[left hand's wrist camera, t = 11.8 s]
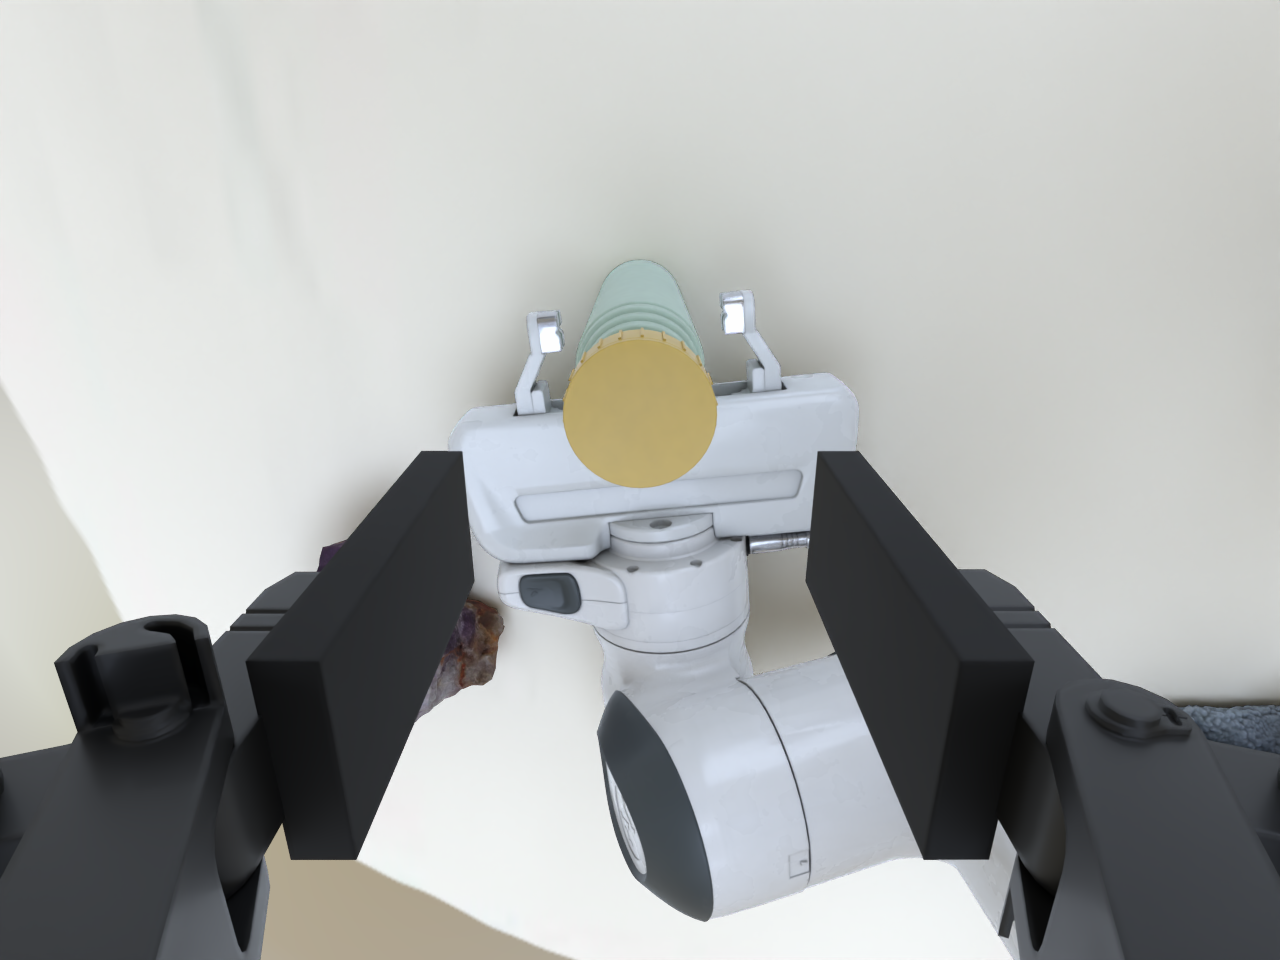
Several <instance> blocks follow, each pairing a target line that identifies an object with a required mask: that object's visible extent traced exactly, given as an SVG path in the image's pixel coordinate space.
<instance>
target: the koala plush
mask: <svg viewBox="0 0 1280 960" xmlns="http://www.w3.org/2000/svg"><path fill="white" fill-rule="evenodd" d="M1179 708H1180V709H1181V710H1183V711H1184V712H1186V713H1187V714H1189V716H1190V717H1191V718H1192V719H1193V720H1194V722H1195V723H1196V724H1197V725H1198V726H1199V727H1200V729H1201V730H1202V731H1203V733H1204V735H1205V737H1206V739H1207V740H1211V741H1215V742H1220V743H1225V744H1230V745H1235V746H1240V747H1245V748H1250V749H1255V750H1260V751H1265V752H1270V753H1275V754H1280V705H1279V706H1275V705H1267V706H1264V705H1262V706H1249V705H1246V706H1244V707H1241V706H1235V707H1232V708H1229V709H1228V708H1221V707H1219V708H1215V707H1210V706H1204V707H1199V706H1198V705H1195V706H1190V705H1188V706H1186V707H1179Z"/></svg>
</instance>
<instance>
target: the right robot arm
mask: <svg viewBox="0 0 1280 960" xmlns="http://www.w3.org/2000/svg"><path fill="white" fill-rule="evenodd" d="M720 306H721V308H722V309H723V311H722V313H721V328H722V330H724V333H725V334H737V333H742V335H743V336H744V338H745V339H746V341H747V342H748V344H749V345H750V347H751V348H752V350H753V351H754V353H755V354H756V356H757V357H758V361H757V360H756V359H749V360H748V361H747V362H746V366H747V380H744V381H734V382H724V383H714V384H713V385H711V386H712V389H713V392H714V394H715V397H716V400H717V403H718V406H717V423H716V424H717V425H716V428H715V433H714V436H713V439H712V441H711V444H710V446H709V448H708V450H707V451H706V453H705V454H704V456H703V457H702V459H701V460H700V461H699V462H698V463H697V464H696V465H695V466H694V467H693V468H692V469H691V470H690V471H688V472H687V473H686V474H684V475H683V476H681V477H680V478H678V479H676V480H674V481H672V482H669V483H666V484H663V485H660V486H655V487H649V488H631V487H625V486H620V485H617V484H613V483H611V482H609V481H606V480H604V479H602V478H601V477H599V476H597V475H595V474H594V473H593V472H592V471H590V470H589V469H588V468H587V467H586V466H585V465H584V464H583V463H582V462H581V461H580V460H579V458H578V457H577V456H576V455H575V453H574V451H573V450H572V448H571V446H570V444H569V441H568V439H567V436H566V433H565V429H564V423H563V405H564V402H563V399H553V400H551V399H550V393H549V387H548V382H547V381H546V380H540V381H538V382H537V383H536V379H537V376H538V374H539V371H540V369H541V366H542V364H543V361H544V359H545V356H546V354H547V353H551V352H559V351H562V349H563V347H564V345H565V341H564V333H563V330H562V329H561V328H560V327H559V326H560V325H561V323H562V319H561V314H560V310H551V311H538V312H531V313H529V314H528V315H527V329H528V336H529V342H530V349H531V353H530V354H529V356H528V359H527V361H526V364H525V366H524V369H523V371H522V374H521V377H520V379H519V382H518V384H517V387H516V389H515V392H514V394H515V400H516V403H513V404H503V405H494V406H483V407H475V408H472V409H470V410H469V411H467V412H466V414H465V415H464V416H463V417H462V418H461V419H460V420H459V422H458V423H457V424H456V426H455V428H454V429H453V431H452V433H451V435H450V437H449V441H448V451H463V462H464V473H465V484H466V495H467V506H468V516H469V524H470V527H471V529H472V532H473V534H474V536H475V538H476V539H477V541H478V543H479V544H480V545H481V546H482V548H483V549H484V550H485V551H486V552H487V553H488V554H490V555H491V556H493V557H494V558H496V559H499V560H500V565H499V569H498V578H497V587H498V593H499V596H500V599H501V601H502V602H503V603H504V604H505V605H507V606H509V607H512V608H515V609H520V610H525V611H531V612H536V613H542V614H547V615H552V616H557V617H562V618H566V619H571V620H575V621H579V622H583V623H587V624H590V625H593V628H594V631H595V634H596V636H597V638H598V640H599V642H600V644H601V646H602V648H603V652H604V664H603V669H602V679H601V684H602V692H603V699H604V705H605V710H604V713H603V716H602V719H601V721H600V724H599V727H598V730H597V735H598V740H599V746H600V753H601V759H602V766H603V773H604V780H605V787H606V794H607V800H608V805H609V810H610V815H611V819H612V823H613V827H614V830H615V834H616V837H617V840H618V843H619V846H620V849H621V851H622V854H623V856H624V858H625V861H626V863H627V865H628V867H629V869H630V871H631V873H632V874H633V876H634V877H635V878H636V879H637V880H638V881H639V882H640V883H641V884H642V885H644V886H645V887H646V888H647V889H649V890H650V891H651V892H652V893H653V894H655V895H656V896H657V897H659V898H660V899H661V900H663V901H664V902H665V903H667V904H668V905H670V906H671V907H673V908H675V909H676V910H678V911H680V912H682V913H683V914H685V915H688V916H690V917H692V918H694V919H697V920H700V921H704V922H706V921H708V920H709V919H713V918H718V917H723V916H727V915H731V914H734V913H737V912H740V911H743V910H746V909H750V908H753V907H756V906H760V905H763V904H766V903H769V902H772V901H775V900H778V899H781V898H784V897H787V896H791V895H794V894H797V893H800V892H802V891H803V890H804V889H806V888H809V887H812V886H815V885H819V884H822V883H825V882H828V881H831V880H834V879H837V878H840V877H843V876H846V875H849V874H852V873H855V872H858V871H861V870H864V869H867V868H870V867H873V866H876V865H879V864H882V863H885V862H888V861H892V860H897V859H903V858H923V857H922V855H921V852H920V850H919V848H918V845H917V843H916V841H915V838H914V836H913V834H912V831H911V829H910V826H909V824H908V822H907V819H906V817H905V815H904V812H903V810H902V808H901V805H900V803H899V800H898V798H897V796H896V793H895V791H894V789H893V786H892V784H891V782H890V779H889V777H888V775H887V772H886V770H885V767H884V765H883V763H882V760H881V758H880V756H879V753H878V751H877V749H876V746H875V744H874V741H873V739H872V737H871V734H870V732H869V730H868V727H867V725H866V723H865V720H864V718H863V716H862V713H861V711H860V708H859V706H858V704H857V701H856V699H855V697H854V694H853V692H852V690H851V687H850V685H849V683H848V680H847V678H846V675H845V673H844V671H843V668H842V666H841V664H840V661H839V659H838V657H837V654H836V652H834V653H832V654H830V655H828V656H827V657H824V658H820V659H816V660H812V661H808V662H804V663H801V664H797V665H793V666H789V667H785V668H781V669H778V670H774V671H770V672H766V673H762V674H758V675H755V676H754V674H753V667H752V662H751V659H750V656H749V654H748V651H747V649H746V646H745V639H744V638H745V632H746V628H747V625H748V621H749V614H750V603H749V584H748V568H747V556H748V554H755V553H765V552H775V551H782V550H786V549H791V548H797V547H798V548H799V547H806V548H809V538H810V527H811V516H812V506H813V495H814V484H815V473H816V462H817V451H856V444H857V435H858V422H859V405H858V401H857V399H856V397H855V395H854V394H853V392H852V391H851V390H850V389H849V388H848V387H847V386H846V385H845V384H844V383H843V382H842V381H840V380H839V379H838V378H837V377H835V376H834V375H832V374H831V373H814V374H804V375H794V376H784V377H781V365H780V364H779V362H778V361H777V359H776V358H775V356H774V355H773V353H772V352H771V350H770V349H769V347H768V346H767V344H766V343H765V341H764V339H763V338H762V336H761V335H760V333H759V332H758V331H757V329H756V326H755V305H754V296H753V292H752V291H751V290H741V291H732V292H724V293H720ZM746 535H747V536H746ZM1016 853H1017V852H1016V850H1015V848H1014V846H1013V845H1012V843H1011V841H1010V839H1009V838H1008V836H1007V834H1006V832H1005V831H1004V829H1003V827H1002V825H1001V824H1000V822H999V820H998V823H997V828H996V832H995V836H994V841H993V845H992V849H991V854H990V858H989V860H939V861H942V862H945V863H948V864H950V865H952V866H954V867H955V868H956V869H957V870H958V872H959V873H960V875H961V876H962V878H963V879H964V881H965V883H966V884H967V886H968V887H969V889H970V891H971V892H972V894H973V895H974V897H975V899H976V900H977V902H978V903H979V905H980V907H981V908H982V910H983V911H984V913H985V915H986V916H987V918H988V919H989V921H990V923H991V924H992V926H993V927H994V929H995V931H996V932H997V934H998V931H999V924H1000V918H1001V914H1002V910H1003V906H1004V902H1005V898H1006V894H1007V890H1008V886H1009V882H1010V878H1011V874H1012V870H1013V866H1014V862H1015V857H1016ZM999 937H1000V939H1001V940H1002V942H1003V943H1004V945H1005V947H1006V948H1007V950H1008V951H1009V953H1010V955H1011V956H1012V958H1013V959H1014V960H1020V956H1019V949H1018V941H1017V934H1016V927H1015V921H1013V924H1012V928H1011V931H1010V935H1009V939H1008V938H1005V937H1001V936H999Z"/></svg>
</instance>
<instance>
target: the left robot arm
mask: <svg viewBox="0 0 1280 960" xmlns="http://www.w3.org/2000/svg"><path fill="white" fill-rule="evenodd" d="M473 583H474V571H473V560H472V549H471V538H470V527H469V516H468V506H467V495H466V484H465V473H464V462H463V451H421V452H420V453H419V455H418V456H417V457H416V458H415V459H414V461H413V462H412V463H411V464H410V465H409V467H408V468H407V469H406V470H405V471H404V472H403V474H402V475H401V476H400V477H399V478H398V480H397V481H396V482H395V483H394V484H393V486H392V487H391V488H390V489H389V490H388V492H387V493H386V494H385V495H384V496H383V498H382V499H381V500H380V501H379V502H378V503H377V505H376V506H375V507H374V508H373V509H372V511H371V512H370V513H369V514H368V515H367V517H366V518H365V519H364V520H363V521H362V523H361V524H360V525H359V526H358V527H357V529H356V530H355V531H354V532H353V533H352V534H351V536H350V537H349V538H348V539H347V540H346V542H345V543H344V544H343V545H342V546H341V548H340V549H339V550H338V551H337V552H336V554H335V555H334V556H333V557H332V558H331V560H330V561H329V562H328V563H327V564H326V565H325V567H324V568H323V569H322V570H321V571H320V572H294V573H293V574H291V575H289V576H288V577H286V578H284V579H282V580H281V581H279V582H277V583H275V584H274V585H272V586H270V587H268V588H267V589H265V590H264V591H263V592H262V593H261V594H260V595H259V597H258V598H257V599H256V600H255V601H254V602H253V603H252V604H251V605H250V606H249V607H248V608H247V609H246V614H242V615H241V616H240V617H239V618H238V619H237V620H236V621H235V622H234V623H233V624H232V625H231V626H230V631H226V632H225V633H224V634H223V635H222V636H221V637H220V638H219V639H218V640H217V641H216V642H215V643H214V644H213V645H212V643H211V639H210V635H209V631H208V627H207V625H206V624H204V623H203V622H201V621H200V620H199V619H197V618H195V617H189V616H183V615H177V614H173V615H159V616H148V617H144V618H140V619H135V620H131V621H127V622H122V623H119V624H117V625H114V626H112V627H109V628H106V629H104V630H101V631H99V632H96V633H93V634H92V635H90V636H88V637H86V638H85V639H83V640H81V641H80V642H78V643H76V644H75V645H73V646H71V647H69V648H68V649H67V650H66V651H65V652H64V653H63V654H62V655H61V656H60V657H59V658H58V659H57V660H56V661H55V662H54V664H55V667H56V670H57V673H58V676H59V679H60V682H61V685H62V688H63V691H64V694H65V697H66V700H67V702H68V705H69V708H70V711H71V714H72V717H73V720H74V723H75V726H76V729H77V734H76V736H75V738H74V740H73V742H72V743H71V744H67V745H63V746H58V747H53V748H48V749H43V750H38V751H33V752H28V753H23V754H18V755H13V756H8V757H3V758H0V960H260V959H261V951H262V943H263V936H264V929H265V921H266V914H267V906H268V899H269V891H270V883H269V876H268V870H267V866H266V862H265V857H264V854H265V852H266V850H267V849H268V847H269V845H270V843H271V842H272V840H273V838H274V836H275V835H276V833H277V831H278V829H279V828H280V826H281V824H282V823H283V828H284V832H285V836H286V841H287V845H288V849H289V854H290V858H291V860H356V859H357V857H358V855H359V852H360V850H361V848H362V845H363V843H364V841H365V838H366V836H367V834H368V831H369V829H370V826H371V824H372V822H373V819H374V817H375V815H376V812H377V810H378V808H379V805H380V803H381V800H382V798H383V796H384V793H385V791H386V789H387V786H388V784H389V782H390V779H391V777H392V775H393V772H394V770H395V767H396V765H397V763H398V760H399V758H400V756H401V753H402V751H403V749H404V746H405V744H406V741H407V739H408V737H409V734H410V732H411V730H412V727H413V725H414V723H415V720H416V718H417V716H418V713H419V711H420V708H421V706H422V704H423V701H424V699H425V697H426V694H427V692H428V690H429V687H430V685H431V683H432V680H433V678H434V675H435V673H436V671H437V668H438V666H439V664H440V661H441V659H442V657H443V654H444V652H445V649H446V647H447V645H448V642H449V640H450V638H451V635H452V633H453V631H454V628H455V626H456V624H457V621H458V619H459V616H460V614H461V612H462V609H463V607H464V605H465V602H466V600H467V598H468V595H469V593H470V590H471V588H472V586H473ZM806 583H807V586H808V588H809V590H810V593H811V595H812V598H813V600H814V602H815V605H816V607H817V609H818V612H819V614H820V616H821V619H822V621H823V624H824V626H825V628H826V631H827V633H828V635H829V638H830V640H831V642H832V645H833V647H834V649H835V652H836V654H837V657H838V659H839V661H840V664H841V666H842V668H843V671H844V673H845V675H846V678H847V680H848V683H849V685H850V687H851V690H852V692H853V694H854V697H855V699H856V701H857V704H858V706H859V708H860V711H861V713H862V716H863V718H864V720H865V723H866V725H867V727H868V730H869V732H870V734H871V737H872V739H873V741H874V744H875V746H876V749H877V751H878V753H879V756H880V758H881V760H882V763H883V765H884V767H885V770H886V772H887V775H888V777H889V779H890V782H891V784H892V786H893V789H894V791H895V793H896V796H897V798H898V800H899V803H900V805H901V808H902V810H903V812H904V815H905V817H906V819H907V822H908V824H909V826H910V829H911V831H912V834H913V836H914V838H915V841H916V843H917V845H918V848H919V850H920V852H921V855H922V857H923V859H924V860H989V858H990V854H991V849H992V845H993V841H994V836H995V832H996V828H997V823H998V820H999V822H1000V824H1001V825H1002V827H1003V829H1004V831H1005V832H1006V834H1007V836H1008V838H1009V839H1010V841H1011V843H1012V845H1013V846H1014V848H1015V850H1016V852H1017V853H1016V857H1015V862H1014V866H1013V870H1012V874H1011V878H1010V882H1009V886H1008V890H1007V894H1006V898H1005V902H1004V906H1003V910H1002V914H1001V918H1000V924H999V931H998V936H1001V937H1005V938H1008V939H1009V935H1010V931H1011V928H1012V924H1013V921H1015V927H1016V934H1017V941H1018V949H1019V956H1020V960H1280V754H1275V753H1270V752H1265V751H1260V750H1255V749H1250V748H1245V747H1240V746H1235V745H1230V744H1225V743H1220V742H1215V741H1211V740H1207V739H1206V737H1205V735H1204V733H1203V731H1202V730H1201V729H1200V727H1199V726H1198V725H1197V724H1196V723H1195V722H1194V720H1193V719H1192V718H1191V717H1190V716H1189V714H1187V713H1186V712H1184V711H1183V710H1181V709H1180V708H1179V707H1177V706H1176V705H1174V704H1173V703H1171V702H1170V701H1168V700H1167V699H1165V698H1163V697H1161V696H1159V695H1156V694H1154V693H1152V692H1150V691H1147V690H1145V689H1143V688H1141V687H1138V686H1134V685H1130V684H1127V683H1123V682H1119V681H1115V680H1110V679H1102V678H1101V677H1100V676H1099V675H1098V674H1097V673H1096V671H1095V670H1094V669H1093V668H1092V667H1091V666H1090V665H1089V664H1088V663H1087V662H1086V661H1085V660H1084V659H1083V658H1082V657H1081V656H1080V655H1079V654H1078V652H1077V651H1076V650H1075V649H1074V648H1073V647H1072V646H1071V645H1070V644H1069V643H1068V642H1067V641H1066V640H1065V639H1064V638H1063V637H1062V636H1061V635H1060V633H1059V632H1058V631H1057V630H1056V629H1055V628H1051V626H1050V623H1049V622H1048V621H1047V620H1046V619H1045V618H1044V617H1043V616H1042V614H1041V613H1040V612H1039V611H1035V610H1034V606H1033V605H1032V604H1031V603H1030V602H1029V601H1028V600H1027V599H1026V598H1025V597H1024V595H1023V594H1022V593H1021V592H1020V591H1019V590H1018V589H1017V588H1016V587H1015V586H1013V585H1011V584H1010V583H1008V582H1006V581H1004V580H1003V579H1001V578H999V577H997V576H996V575H994V574H992V573H990V572H989V571H987V570H985V569H957V568H956V567H955V565H954V564H953V563H952V562H951V561H950V560H949V558H948V557H947V556H946V555H945V554H944V552H943V551H942V550H941V549H940V548H939V546H938V545H937V544H936V543H935V542H934V540H933V539H932V538H931V537H930V536H929V534H928V533H927V532H926V531H925V530H924V529H923V527H922V526H921V525H920V524H919V523H918V521H917V520H916V519H915V518H914V517H913V515H912V514H911V513H910V512H909V511H908V509H907V508H906V507H905V506H904V505H903V503H902V502H901V501H900V500H899V499H898V498H897V496H896V495H895V494H894V493H893V492H892V490H891V489H890V488H889V487H888V486H887V484H886V483H885V482H884V481H883V480H882V478H881V477H880V476H879V475H878V474H877V472H876V471H875V470H874V469H873V468H872V467H871V465H870V464H869V463H868V462H867V461H866V459H865V458H864V457H863V456H862V455H861V453H860V452H859V451H817V462H816V473H815V484H814V495H813V506H812V516H811V527H810V538H809V549H808V560H807V571H806Z"/></svg>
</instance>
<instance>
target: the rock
mask: <svg viewBox="0 0 1280 960" xmlns="http://www.w3.org/2000/svg"><path fill="white" fill-rule="evenodd" d="M345 542H346V540H345V541H342V542H338V543H335V544H333V545H330V546H326V547H323V548H322V552H321V556H320V561H319V567H318V570H317V572H320V571H321V570H322V569H323V568H324V567H325V565H326V564H327V563H328V562H329V561H330V560H331V558H332V557H333V556H334V555H335V554H336V552H337V551H338V550H339V549H340V548H341V546H342V545H343V544H344V543H345ZM503 630H504V625H503V619H502V617H501V616H500V615H499V614H498V612H497V609H495V608H492V607H489V606H487V605H486V604H484V603H482V602H480V601H476V600H468V599H467V600H466V602H465V605H464V607H463V609H462V612H461V614H460V616H459V619H458V621H457V624H456V626H455V628H454V631H453V633H452V635H451V638H450V640H449V642H448V645H447V647H446V649H445V652H444V654H443V657H442V659H441V661H440V664H439V666H438V668H437V671H436V673H435V675H434V678H433V680H432V683H431V685H430V687H429V690H428V692H427V694H426V697H425V699H424V701H423V704H422V706H421V708H420V711H419V713H418V716H417V718H416V720H415V722H416V721H417V720H418V719H419V718H420V717H421V716H422V715H424V714H426V713H428V712H429V711H430V710H431V709H432V708H433V707H434V706H436V705H438V704H439V703H440V702H441V701H443V699H445V698H448V697H451V696H454V695H455V694H456V693H458V692H459V691H460V690H461V689H464V688H466V687H468V686H471V685H484V684H486V683H487V682H488V681H490V680H491V679H492V677H493V674H494V672H495V669H496V656H497V650H498V640H499V636H500V635H501V633H502V632H503Z"/></svg>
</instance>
